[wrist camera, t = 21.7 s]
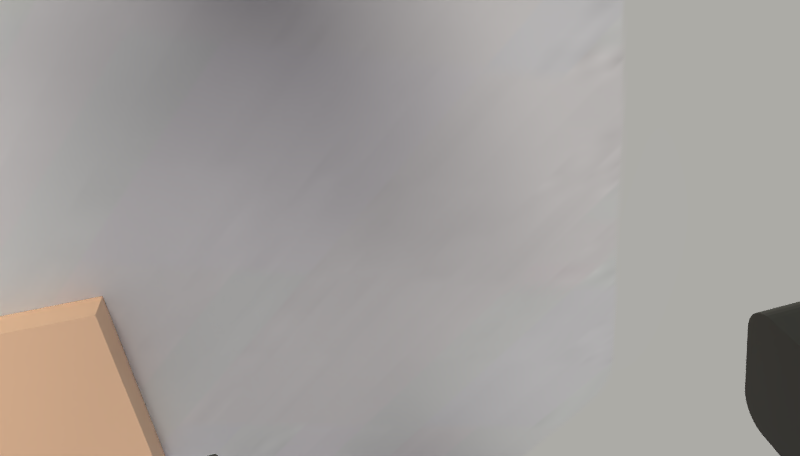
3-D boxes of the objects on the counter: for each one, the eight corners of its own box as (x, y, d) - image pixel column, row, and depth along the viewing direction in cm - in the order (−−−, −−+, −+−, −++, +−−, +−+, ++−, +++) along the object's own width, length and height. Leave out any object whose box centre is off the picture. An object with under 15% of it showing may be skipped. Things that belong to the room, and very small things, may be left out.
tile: (-142, 362, 38) (-44, 521, 43) (95, 315, 38) (161, 477, 44) (-121, 335, 40) (-29, 491, 45) (103, 291, 40) (165, 449, 46)
